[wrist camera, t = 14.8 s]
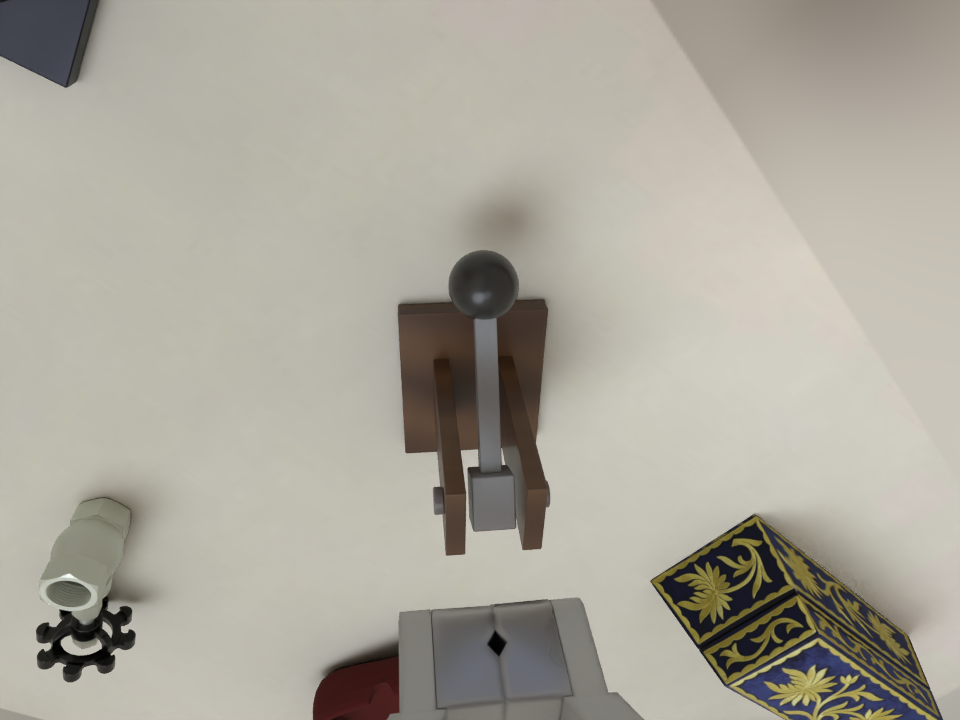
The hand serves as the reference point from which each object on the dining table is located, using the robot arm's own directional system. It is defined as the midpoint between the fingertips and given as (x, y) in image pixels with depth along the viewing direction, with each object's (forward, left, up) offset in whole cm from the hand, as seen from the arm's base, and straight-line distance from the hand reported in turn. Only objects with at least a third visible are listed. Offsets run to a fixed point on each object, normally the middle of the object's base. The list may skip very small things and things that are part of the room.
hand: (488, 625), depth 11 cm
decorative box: (-19, +53, -29) cm, 63 cm away
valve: (+32, +22, -29) cm, 49 cm away
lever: (+1, +12, -23) cm, 26 cm away
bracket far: (+2, +16, -29) cm, 33 cm away
